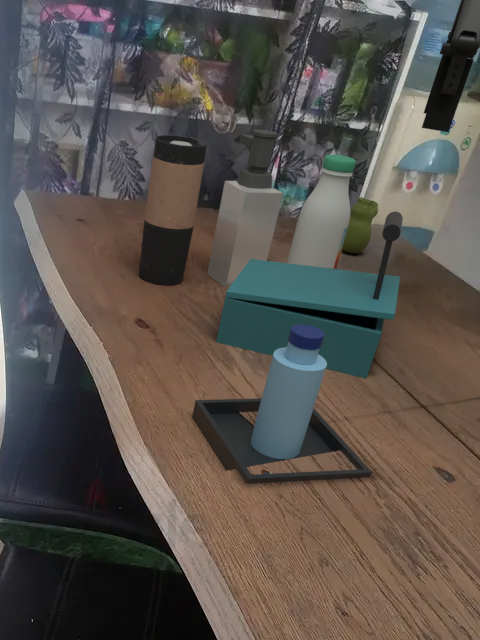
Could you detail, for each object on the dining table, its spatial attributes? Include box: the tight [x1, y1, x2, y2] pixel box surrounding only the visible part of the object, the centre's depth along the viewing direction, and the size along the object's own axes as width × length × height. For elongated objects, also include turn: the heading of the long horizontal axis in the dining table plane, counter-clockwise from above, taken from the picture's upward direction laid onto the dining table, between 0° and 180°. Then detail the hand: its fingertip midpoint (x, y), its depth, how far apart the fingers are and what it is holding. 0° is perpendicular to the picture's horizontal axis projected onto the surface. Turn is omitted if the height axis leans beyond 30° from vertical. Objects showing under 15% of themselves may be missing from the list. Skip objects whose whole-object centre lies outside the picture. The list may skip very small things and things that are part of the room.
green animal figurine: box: [342, 196, 379, 255], centre depth 137 cm, size 6×5×10 cm
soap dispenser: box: [206, 129, 284, 287], centre depth 114 cm, size 6×9×22 cm
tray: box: [192, 398, 373, 485], centre depth 77 cm, size 15×13×2 cm
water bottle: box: [251, 325, 327, 460], centre depth 73 cm, size 5×5×13 cm
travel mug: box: [138, 134, 208, 286], centre depth 112 cm, size 8×8×20 cm
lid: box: [225, 211, 404, 321], centre depth 94 cm, size 20×16×10 cm
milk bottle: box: [286, 154, 357, 269], centre depth 114 cm, size 8×8×20 cm
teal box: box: [215, 297, 385, 379], centre depth 99 cm, size 20×16×7 cm
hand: (435, 122), depth 82 cm, fingers open, 13 cm apart
